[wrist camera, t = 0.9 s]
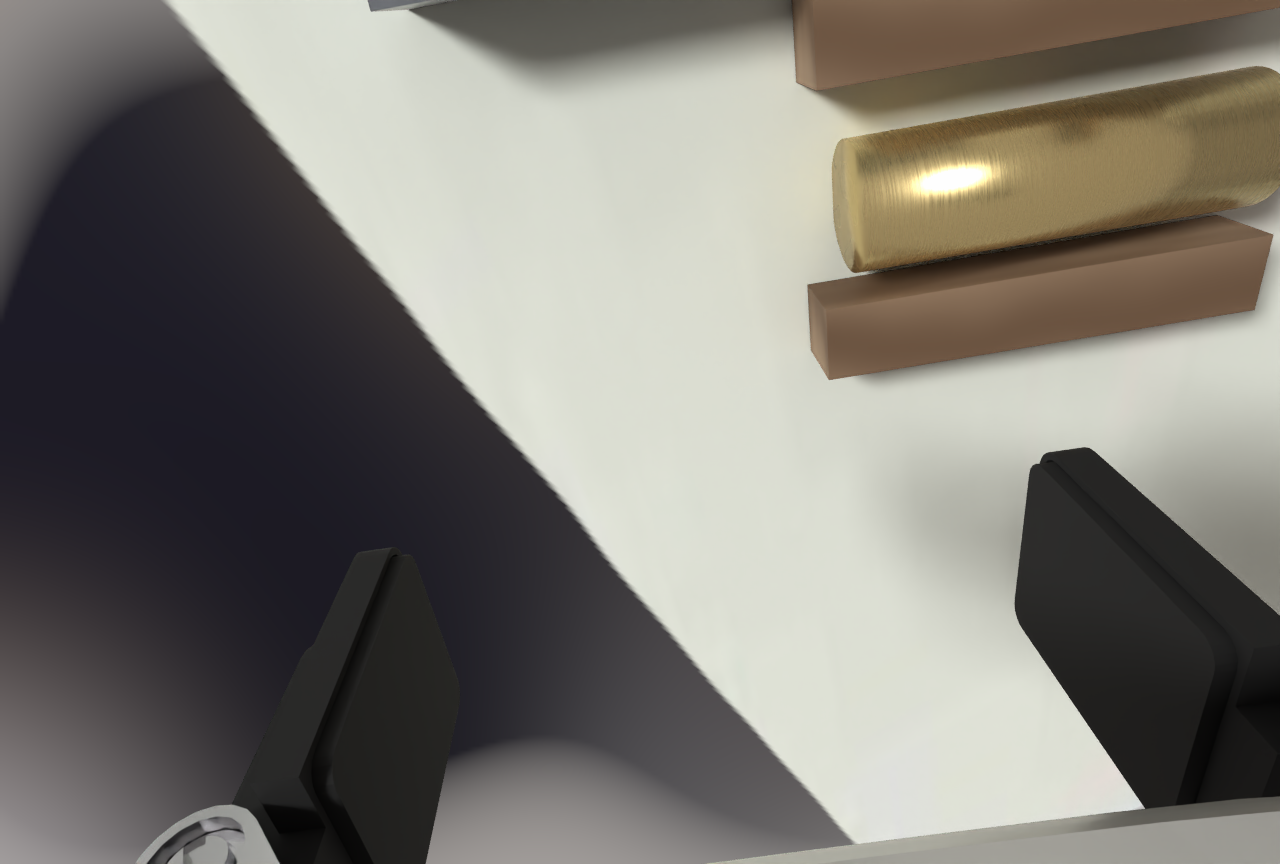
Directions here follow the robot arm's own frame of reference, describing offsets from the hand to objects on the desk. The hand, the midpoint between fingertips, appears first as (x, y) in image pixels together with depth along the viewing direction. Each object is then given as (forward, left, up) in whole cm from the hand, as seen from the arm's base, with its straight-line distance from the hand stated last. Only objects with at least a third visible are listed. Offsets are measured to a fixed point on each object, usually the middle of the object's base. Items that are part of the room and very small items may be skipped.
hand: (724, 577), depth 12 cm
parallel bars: (-1, +12, -16) cm, 20 cm away
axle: (-1, +12, -15) cm, 19 cm away
